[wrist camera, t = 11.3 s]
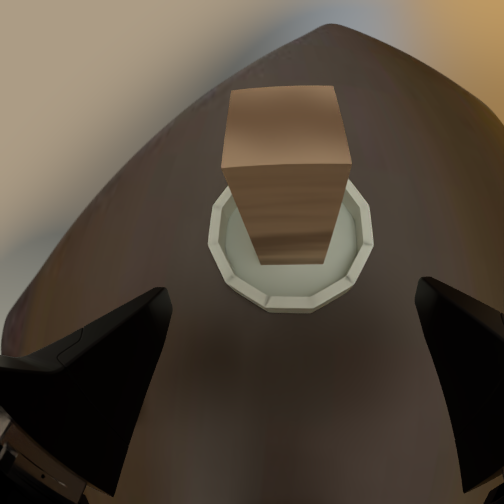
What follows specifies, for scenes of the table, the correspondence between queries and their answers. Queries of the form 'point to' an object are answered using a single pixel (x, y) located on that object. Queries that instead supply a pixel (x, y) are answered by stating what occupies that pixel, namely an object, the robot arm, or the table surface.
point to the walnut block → (287, 169)
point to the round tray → (291, 276)
